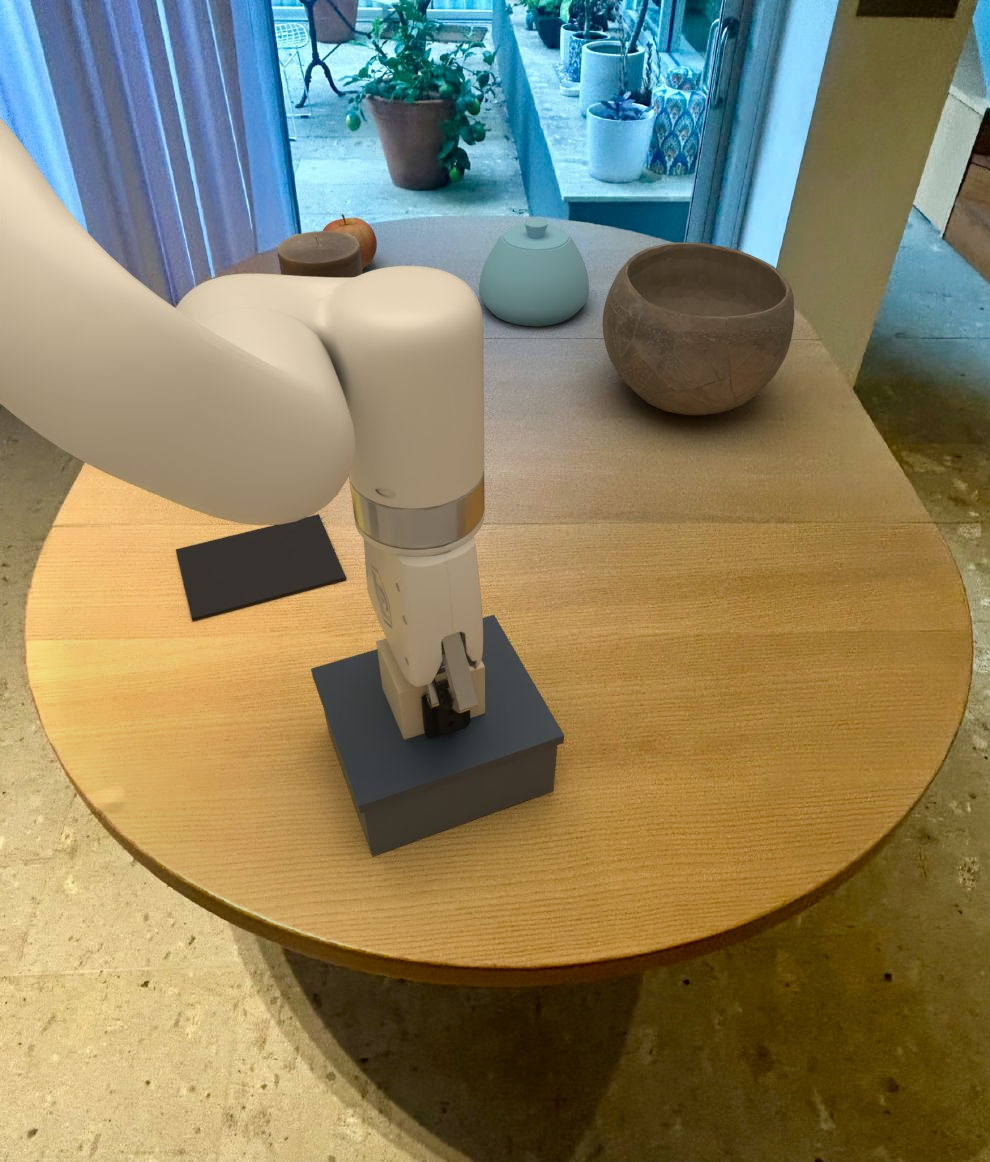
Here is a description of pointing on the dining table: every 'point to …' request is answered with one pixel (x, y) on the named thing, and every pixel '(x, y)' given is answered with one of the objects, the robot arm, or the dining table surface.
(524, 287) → the sugar bowl
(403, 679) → the small box
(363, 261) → the apple
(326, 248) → the pillar candle
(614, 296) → the bowl
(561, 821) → the dining table surface
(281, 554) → the mat
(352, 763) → the storage box
